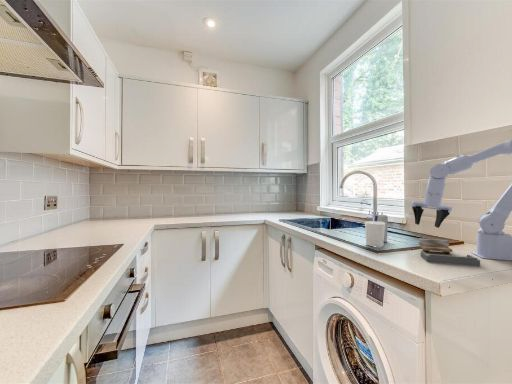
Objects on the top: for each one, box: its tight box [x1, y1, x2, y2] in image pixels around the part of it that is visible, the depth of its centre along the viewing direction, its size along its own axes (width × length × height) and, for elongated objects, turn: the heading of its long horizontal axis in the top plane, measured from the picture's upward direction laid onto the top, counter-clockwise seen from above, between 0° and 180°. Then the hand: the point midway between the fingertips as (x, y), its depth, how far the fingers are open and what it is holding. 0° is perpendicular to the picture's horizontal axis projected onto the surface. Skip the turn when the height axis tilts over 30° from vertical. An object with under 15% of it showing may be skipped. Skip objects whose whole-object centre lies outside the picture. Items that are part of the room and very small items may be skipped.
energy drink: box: [374, 214, 389, 243], centre depth 113 cm, size 5×5×12 cm
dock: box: [418, 250, 481, 267], centre depth 87 cm, size 15×11×3 cm
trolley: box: [418, 238, 453, 255], centre depth 95 cm, size 10×5×4 cm, turn 73°
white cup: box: [364, 220, 386, 248], centre depth 105 cm, size 8×8×10 cm
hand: (426, 225), depth 102 cm, fingers open, 7 cm apart
